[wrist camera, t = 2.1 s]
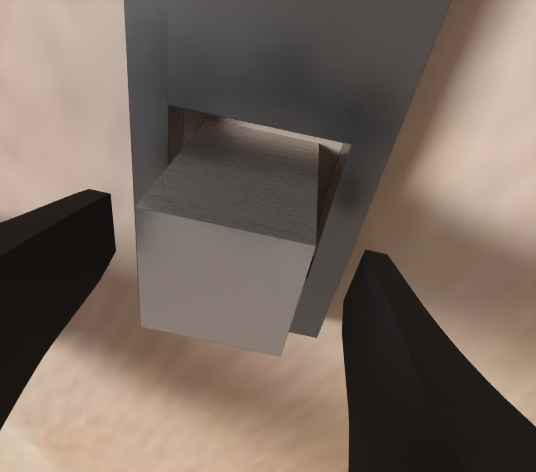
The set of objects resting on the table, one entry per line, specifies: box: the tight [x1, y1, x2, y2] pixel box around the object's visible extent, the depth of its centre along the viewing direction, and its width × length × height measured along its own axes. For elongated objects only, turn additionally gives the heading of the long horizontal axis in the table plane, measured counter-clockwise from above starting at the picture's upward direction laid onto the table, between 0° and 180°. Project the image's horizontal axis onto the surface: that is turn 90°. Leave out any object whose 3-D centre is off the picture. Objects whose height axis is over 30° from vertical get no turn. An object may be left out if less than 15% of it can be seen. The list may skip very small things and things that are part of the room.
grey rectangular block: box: [135, 119, 319, 356], centre depth 12 cm, size 4×4×6 cm
